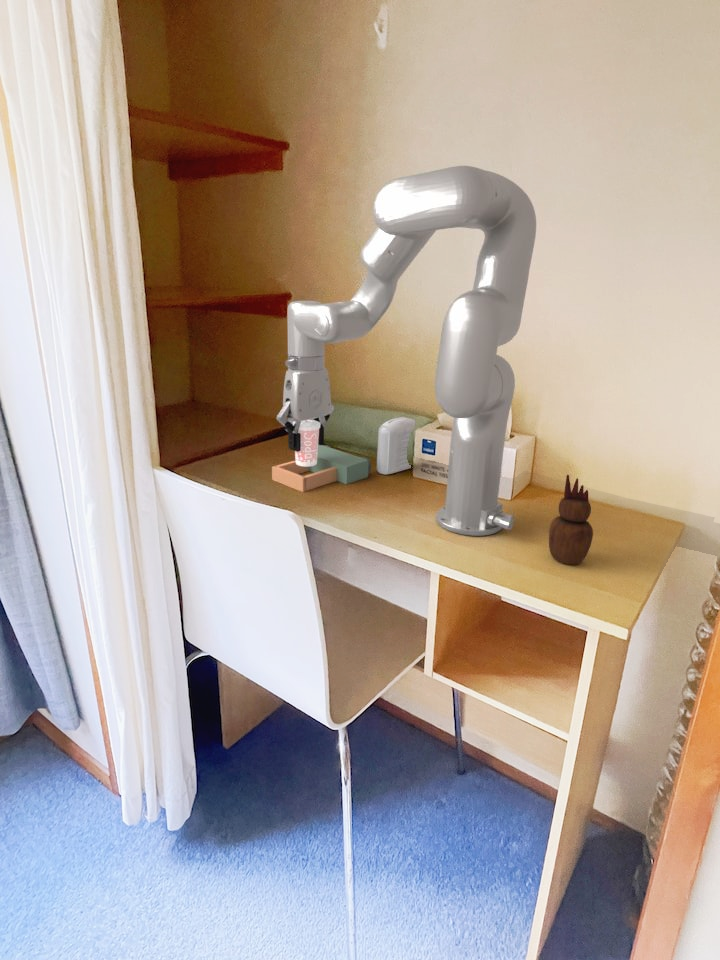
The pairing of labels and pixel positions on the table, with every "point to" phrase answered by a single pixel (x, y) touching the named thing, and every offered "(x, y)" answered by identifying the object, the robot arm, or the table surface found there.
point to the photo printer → (394, 445)
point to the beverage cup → (308, 443)
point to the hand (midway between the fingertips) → (306, 446)
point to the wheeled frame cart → (323, 470)
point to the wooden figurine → (571, 527)
